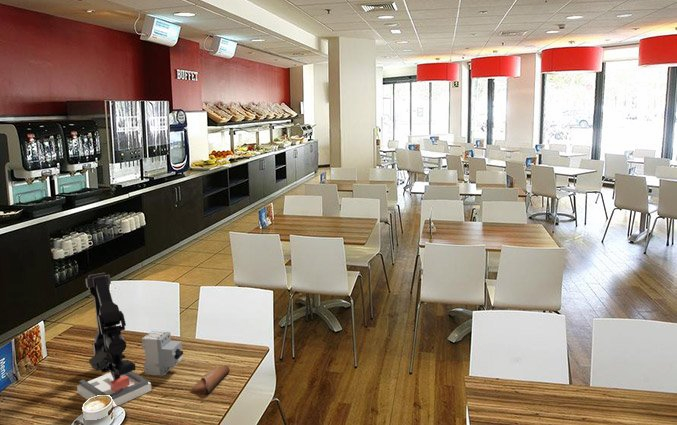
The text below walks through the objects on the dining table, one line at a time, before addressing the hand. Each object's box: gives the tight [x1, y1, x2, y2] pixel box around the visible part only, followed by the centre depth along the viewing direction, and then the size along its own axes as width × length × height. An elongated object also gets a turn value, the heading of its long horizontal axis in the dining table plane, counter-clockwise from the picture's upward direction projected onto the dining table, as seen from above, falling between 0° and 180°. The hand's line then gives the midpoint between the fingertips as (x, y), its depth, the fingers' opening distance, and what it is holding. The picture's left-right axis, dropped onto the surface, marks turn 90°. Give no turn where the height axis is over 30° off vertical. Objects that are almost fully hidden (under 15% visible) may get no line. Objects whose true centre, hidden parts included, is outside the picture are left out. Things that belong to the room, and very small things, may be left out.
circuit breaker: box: [141, 330, 184, 377], centre depth 215 cm, size 8×14×15 cm, turn 78°
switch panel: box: [76, 371, 153, 406], centre depth 201 cm, size 20×18×3 cm
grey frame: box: [78, 371, 149, 400], centre depth 201 cm, size 20×16×2 cm
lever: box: [110, 375, 130, 391], centre depth 198 cm, size 2×6×6 cm, turn 140°
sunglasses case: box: [189, 364, 231, 396], centre depth 207 cm, size 18×7×7 cm
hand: (116, 382), depth 199 cm, fingers closed
